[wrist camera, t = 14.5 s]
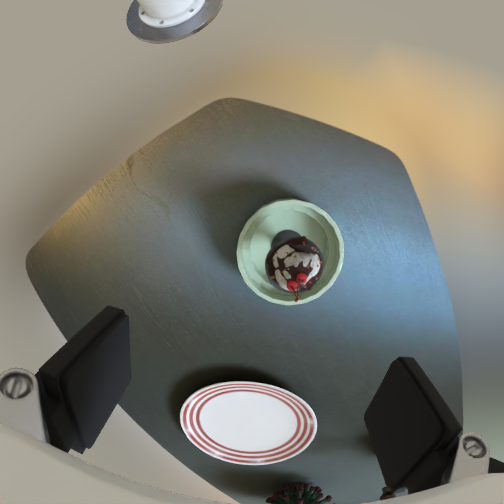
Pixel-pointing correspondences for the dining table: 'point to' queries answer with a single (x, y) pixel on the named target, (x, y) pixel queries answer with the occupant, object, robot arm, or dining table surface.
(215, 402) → the dinner plate
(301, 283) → the sundae
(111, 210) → the dining table surface
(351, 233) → the dining table surface
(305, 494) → the virus model
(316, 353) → the dining table surface
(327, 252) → the bowl
